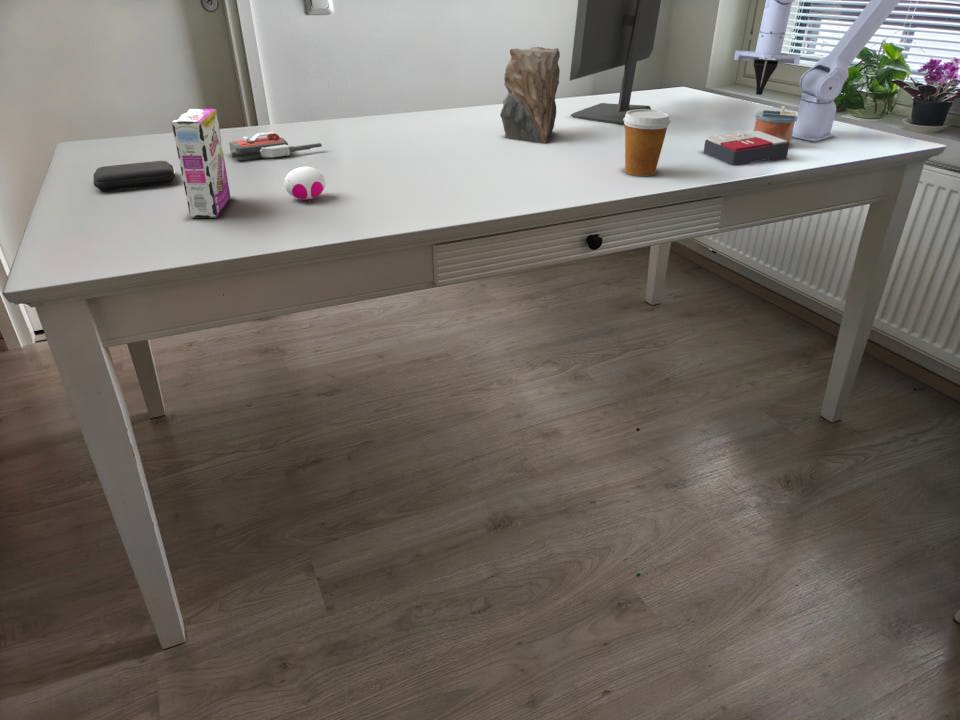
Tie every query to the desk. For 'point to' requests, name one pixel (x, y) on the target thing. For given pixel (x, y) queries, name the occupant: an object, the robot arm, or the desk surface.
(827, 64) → the robot arm
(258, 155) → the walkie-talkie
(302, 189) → the stress ball
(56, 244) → the desk surface
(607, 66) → the computer monitor
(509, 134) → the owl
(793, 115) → the lid slider
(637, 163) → the disposable coffee cup
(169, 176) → the carrying case
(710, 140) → the dark grey flat box
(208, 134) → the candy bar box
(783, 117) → the tumbler
